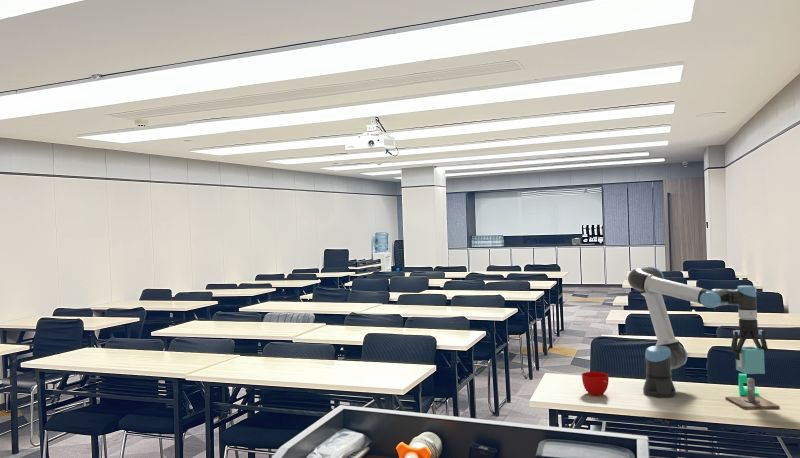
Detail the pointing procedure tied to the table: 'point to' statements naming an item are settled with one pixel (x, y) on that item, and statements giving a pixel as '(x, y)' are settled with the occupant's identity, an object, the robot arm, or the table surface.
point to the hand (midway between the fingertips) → (750, 366)
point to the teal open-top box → (752, 360)
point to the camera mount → (744, 389)
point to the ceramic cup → (595, 382)
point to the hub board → (752, 405)
